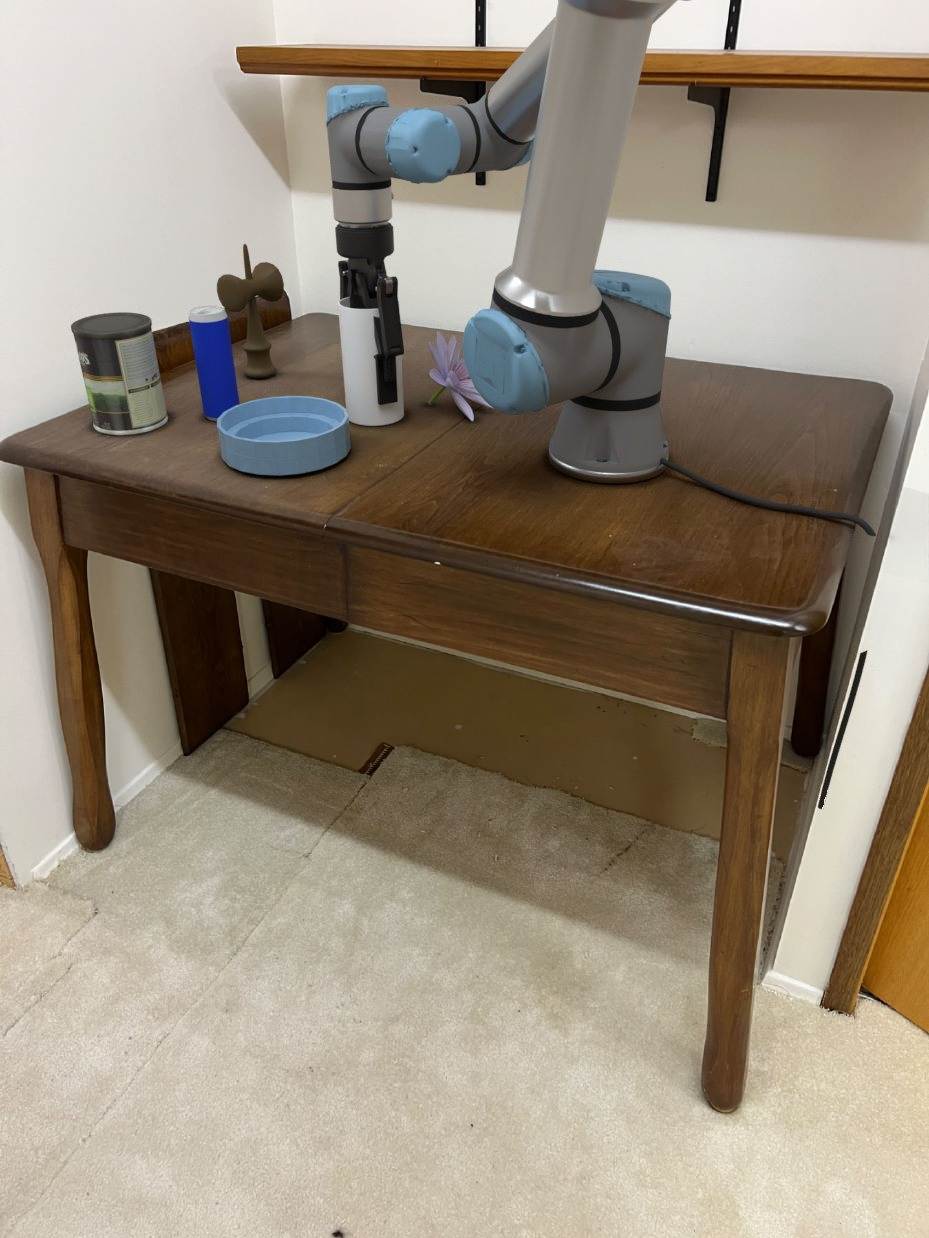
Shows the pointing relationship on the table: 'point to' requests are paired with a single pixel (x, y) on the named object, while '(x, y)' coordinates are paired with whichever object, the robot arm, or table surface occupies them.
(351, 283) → the robot arm
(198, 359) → the beverage can
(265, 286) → the kendama
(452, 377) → the water lily
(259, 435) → the bowl
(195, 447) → the table surface
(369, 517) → the table surface
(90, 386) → the coffee can
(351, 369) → the cup
